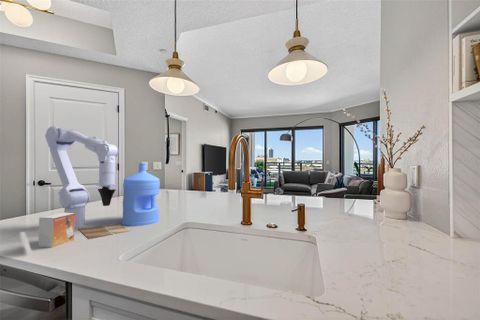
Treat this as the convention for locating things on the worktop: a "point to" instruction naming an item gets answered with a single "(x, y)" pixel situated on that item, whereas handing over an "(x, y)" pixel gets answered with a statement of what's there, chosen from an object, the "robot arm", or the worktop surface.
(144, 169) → the water jug
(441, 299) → the worktop surface
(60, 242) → the small box
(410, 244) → the worktop surface
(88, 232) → the walnut plank
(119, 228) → the oak floor strip
